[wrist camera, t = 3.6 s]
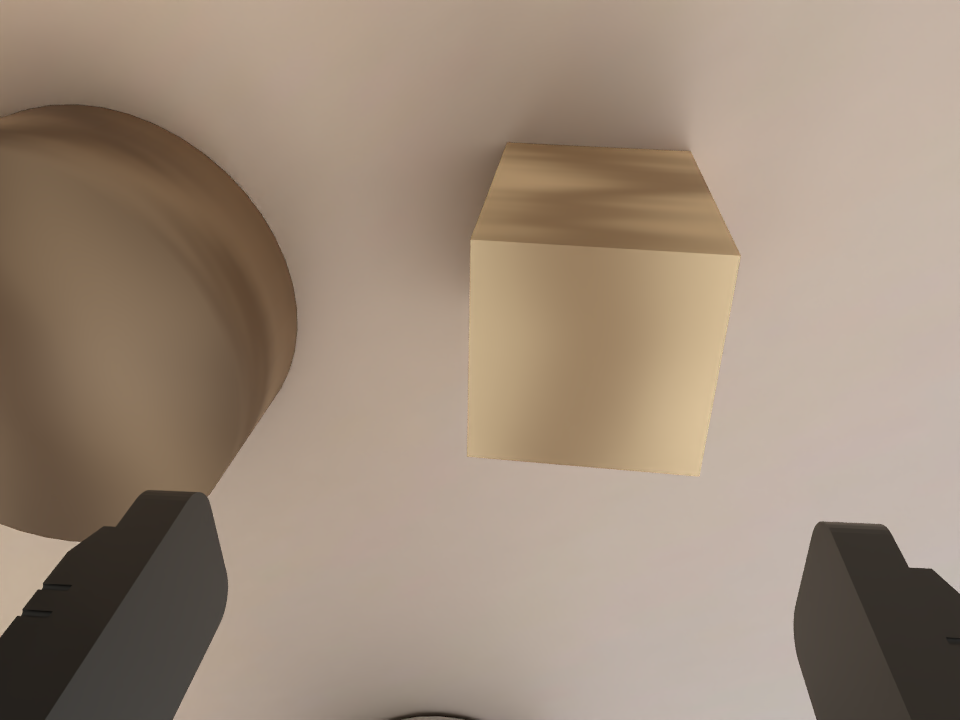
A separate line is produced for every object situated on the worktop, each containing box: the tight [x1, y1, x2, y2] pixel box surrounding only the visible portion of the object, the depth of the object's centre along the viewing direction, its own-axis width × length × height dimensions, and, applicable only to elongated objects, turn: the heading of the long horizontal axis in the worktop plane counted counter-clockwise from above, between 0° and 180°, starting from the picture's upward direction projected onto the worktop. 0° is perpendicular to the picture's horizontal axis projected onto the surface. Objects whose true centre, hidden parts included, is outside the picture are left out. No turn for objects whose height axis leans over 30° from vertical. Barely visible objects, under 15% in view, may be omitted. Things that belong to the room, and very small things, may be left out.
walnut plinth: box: [0, 105, 297, 542], centre depth 24 cm, size 12×12×5 cm
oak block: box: [467, 143, 741, 476], centre depth 19 cm, size 5×5×8 cm
